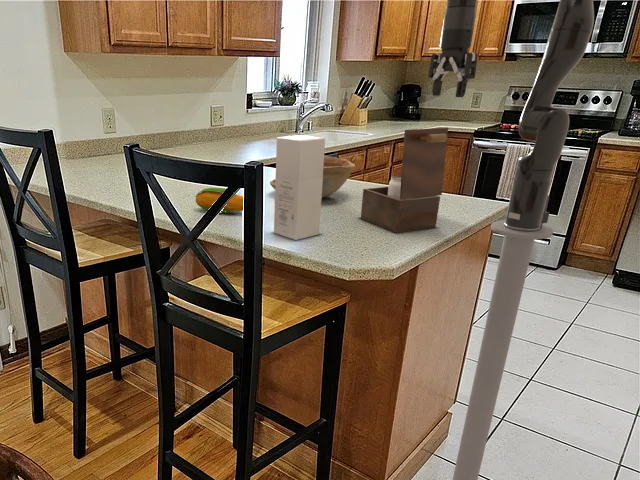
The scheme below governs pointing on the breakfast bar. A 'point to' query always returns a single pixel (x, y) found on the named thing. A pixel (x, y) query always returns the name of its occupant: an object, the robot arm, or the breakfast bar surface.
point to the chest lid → (423, 162)
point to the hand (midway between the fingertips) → (447, 96)
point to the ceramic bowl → (332, 174)
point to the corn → (212, 194)
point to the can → (395, 187)
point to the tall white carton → (298, 186)
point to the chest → (399, 211)
